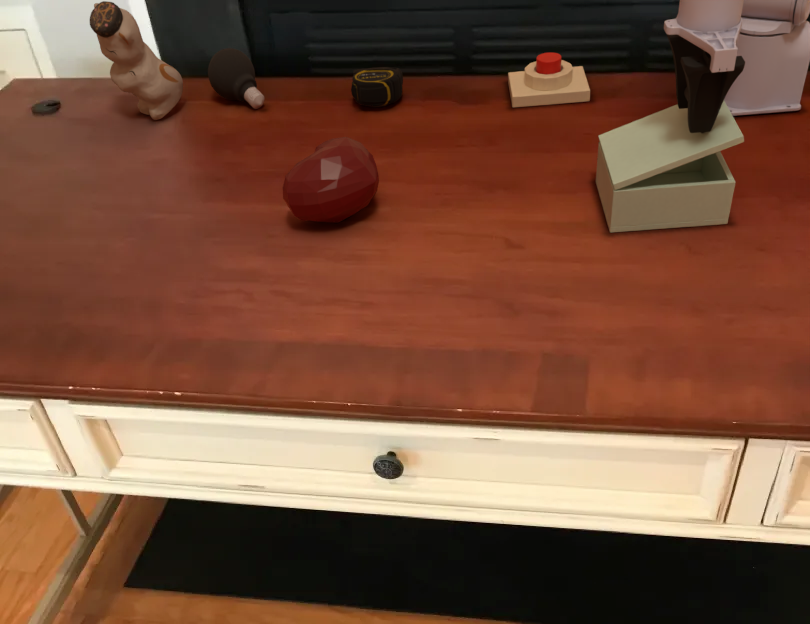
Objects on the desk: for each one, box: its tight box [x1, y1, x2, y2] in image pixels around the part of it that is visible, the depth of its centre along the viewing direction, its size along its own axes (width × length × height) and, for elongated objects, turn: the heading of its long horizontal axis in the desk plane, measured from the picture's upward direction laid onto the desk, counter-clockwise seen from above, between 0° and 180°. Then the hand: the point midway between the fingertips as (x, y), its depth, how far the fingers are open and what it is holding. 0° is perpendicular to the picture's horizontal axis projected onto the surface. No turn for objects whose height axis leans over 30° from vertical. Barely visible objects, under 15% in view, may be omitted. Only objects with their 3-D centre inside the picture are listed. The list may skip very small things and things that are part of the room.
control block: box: [507, 59, 591, 109], centre depth 118 cm, size 10×8×3 cm
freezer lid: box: [597, 87, 745, 190], centre depth 92 cm, size 13×11×4 cm
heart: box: [282, 136, 380, 224], centre depth 100 cm, size 12×8×10 cm
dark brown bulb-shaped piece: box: [207, 47, 265, 110], centre depth 124 cm, size 6×6×10 cm
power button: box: [535, 52, 562, 75], centre depth 117 cm, size 3×3×2 cm
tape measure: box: [350, 66, 404, 108], centre depth 120 cm, size 7×7×4 cm
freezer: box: [595, 141, 736, 233], centre depth 96 cm, size 12×11×5 cm
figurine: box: [89, 0, 184, 121], centre depth 120 cm, size 9×10×15 cm
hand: (693, 118), depth 92 cm, fingers closed on freezer lid, 5 cm apart
